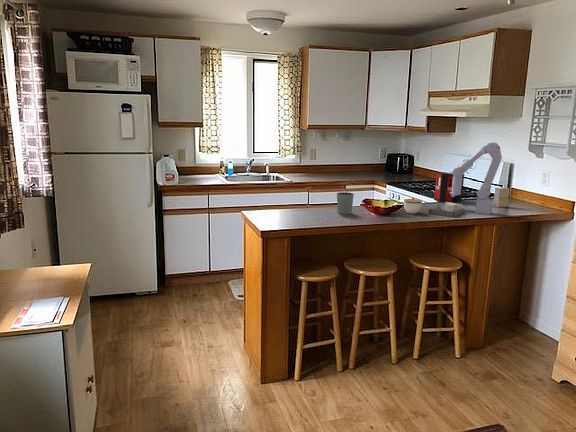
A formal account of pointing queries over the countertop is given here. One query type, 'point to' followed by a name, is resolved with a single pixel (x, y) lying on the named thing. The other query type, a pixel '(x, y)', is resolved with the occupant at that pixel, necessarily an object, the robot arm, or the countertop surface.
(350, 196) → the grey cup
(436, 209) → the bay
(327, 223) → the countertop surface
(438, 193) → the cleaning product box
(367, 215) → the countertop surface
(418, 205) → the lidded jar
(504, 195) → the supplement box
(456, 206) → the t block
